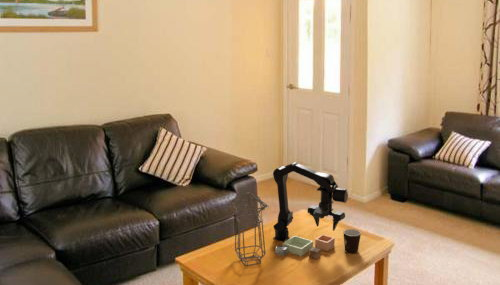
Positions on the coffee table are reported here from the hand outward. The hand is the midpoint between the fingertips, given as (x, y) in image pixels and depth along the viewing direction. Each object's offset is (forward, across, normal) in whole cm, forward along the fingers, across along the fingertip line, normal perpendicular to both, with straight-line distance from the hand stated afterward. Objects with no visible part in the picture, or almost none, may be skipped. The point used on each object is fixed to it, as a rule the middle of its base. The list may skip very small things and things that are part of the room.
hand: (325, 228), depth 257 cm
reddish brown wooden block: (+11, -14, -19) cm, 26 cm away
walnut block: (+11, +1, -12) cm, 16 cm away
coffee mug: (+11, +12, +6) cm, 17 cm away
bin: (+10, -10, -10) cm, 18 cm away
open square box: (+11, 0, 0) cm, 11 cm away
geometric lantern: (+11, -23, -34) cm, 42 cm away
